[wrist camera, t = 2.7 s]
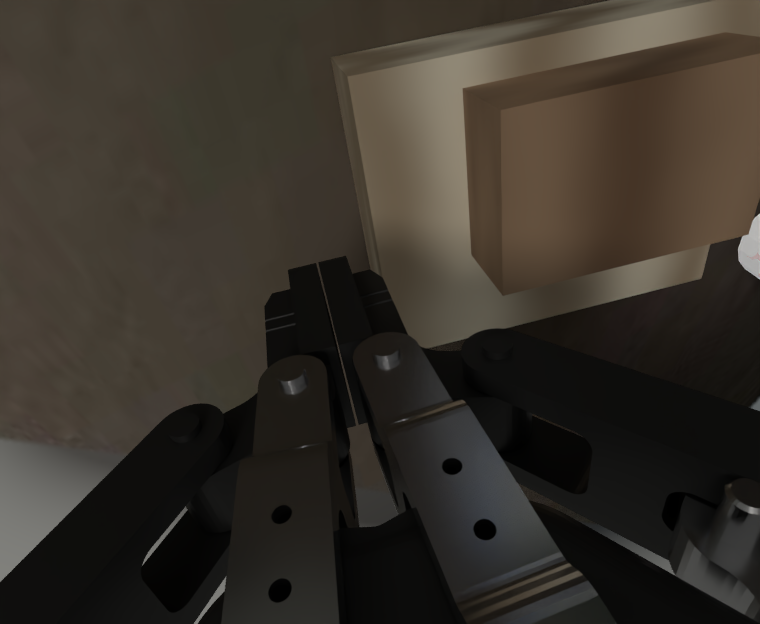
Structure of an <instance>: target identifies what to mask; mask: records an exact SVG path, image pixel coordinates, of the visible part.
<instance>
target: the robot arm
mask: <svg viewBox="0 0 760 624" xmlns="http://www.w3.org/2000/svg"><path fill="white" fill-rule="evenodd" d="M318 263H319V267H320V271H321V275H322V279H323V284H324V288H325V292H326V296H327V300H328V304H329V308H330V312H331V316H332V320H333V324H334V329H335V333H336V337H337V341H338V345H339V349H340V353H341V357H342V361H343V365H344V368H345V372H346V376H347V380H348V384H349V388H350V392H351V396H352V400H353V404H354V408H355V412H356V416H357V419H358V423H359V424H363V423H368V427H369V430H370V434H371V438H372V442H373V446H374V450H375V454H376V456H377V459H378V462H379V465H380V467H381V470H382V473H383V475H384V478H385V481H386V483H387V486H388V489H389V492H390V494H391V497H392V500H393V502H394V505H395V508H396V510H397V513H398V516H396V517H394V518H392V519H391V520H389V521H387V522H386V523H384V524H382V525H379V526H376V527H359V518H358V510H357V501H356V494H355V484H354V476H353V467H352V459H351V454H350V451H349V449H350V439H349V435H348V430H347V428H349V427H353V426H356V424H355V419H354V415H353V411H352V407H351V403H350V399H349V394H348V390H347V386H346V382H345V378H344V373H343V369H342V365H341V361H340V357H339V353H338V348H337V344H336V340H335V336H334V332H333V328H332V324H331V320H330V316H329V312H328V308H327V304H326V300H325V296H324V292H323V289H322V285H321V281H320V277H319V273H318V269H317V265H316V263H314V264H310V265H306V266H302V267H298V268H293V269H289V270H288V274H289V281H290V289H289V290H285V291H281V292H276V293H272V295H271V296H270V298H269V300H268V302H267V303H266V305H265V321H266V322H265V326H266V345H267V365H268V368H267V369H266V370H265V372H264V373H263V374H262V376H261V378H260V380H259V384H258V393H257V394H255V395H254V396H253V397H252V398H251V399H249V400H248V401H246V402H245V403H243V404H241V405H239V406H237V407H235V408H233V409H231V410H230V411H228V412H226V413H224V414H222V412H221V411H220V409H219V408H217V407H216V406H213V405H210V404H193V405H189V406H186V407H183V408H181V409H179V410H176V411H175V412H173V413H171V414H170V415H168V416H167V417H166V418H164V419H163V420H162V421H161V422H160V423H159V424H158V425H157V426H156V427H155V428H154V429H153V430H152V431H151V432H150V433H149V434H148V435H147V436H146V437H145V438H144V439H143V440H142V441H141V442H140V443H139V444H138V445H137V446H136V447H135V448H134V449H133V450H132V451H131V452H130V453H129V454H128V455H127V456H126V457H125V458H124V459H123V460H122V461H121V462H120V463H119V464H118V465H117V466H116V467H115V468H114V469H113V470H112V471H111V472H110V473H109V474H108V475H107V476H106V477H105V478H104V479H103V480H102V481H101V482H100V483H99V484H98V485H97V486H96V487H95V488H94V489H93V490H92V491H91V492H90V493H89V494H88V495H87V496H86V497H85V498H84V499H83V500H82V501H81V502H80V503H79V504H78V505H77V506H76V507H75V508H74V509H73V510H72V511H71V512H70V513H69V514H68V515H67V516H66V517H65V518H64V519H63V520H62V521H61V522H60V523H59V524H58V525H57V526H56V527H55V528H54V529H53V530H52V531H51V532H50V533H49V534H48V535H47V536H46V537H45V538H44V539H43V540H42V541H41V542H40V543H39V544H38V545H37V546H36V547H35V548H34V549H33V550H32V551H31V552H30V553H29V554H28V555H27V556H26V557H25V558H24V559H23V560H22V561H21V562H20V563H19V564H18V565H17V566H16V567H15V568H14V569H13V570H12V571H11V572H10V573H9V574H8V575H7V576H6V577H5V578H4V579H3V580H2V581H1V582H0V624H194V622H195V621H196V619H197V618H198V616H199V615H200V613H201V612H202V610H203V609H204V608H205V606H206V605H207V603H208V602H209V600H210V599H211V597H212V596H213V594H214V593H215V591H216V590H217V588H218V587H219V585H220V584H221V583H222V581H223V580H224V578H225V577H226V585H225V591H224V592H223V594H222V595H221V596H220V597H219V598H218V599H217V600H216V601H215V602H214V603H213V604H212V605H211V607H210V608H209V609H208V611H207V612H206V613H205V614H204V616H203V617H202V619H201V620H200V621H199V623H198V624H760V411H757V410H754V409H751V408H748V407H745V406H742V405H739V404H736V403H733V402H730V401H727V400H724V399H721V398H718V397H715V396H711V395H708V394H705V393H702V392H699V391H696V390H693V389H690V388H687V387H684V386H681V385H678V384H675V383H672V382H669V381H666V380H663V379H660V378H657V377H653V376H650V375H647V374H644V373H641V372H638V371H635V370H632V369H629V368H626V367H623V366H620V365H617V364H614V363H611V362H608V361H605V360H602V359H598V358H595V357H592V356H589V355H586V354H583V353H580V352H577V351H574V350H571V349H568V348H565V347H562V346H559V345H556V344H553V343H550V342H547V341H544V340H540V339H537V338H534V337H531V336H528V335H525V334H522V333H519V332H516V331H513V330H509V329H501V328H494V329H486V330H482V331H479V332H477V333H475V334H473V335H471V336H470V337H469V338H468V339H467V340H466V341H465V342H464V344H463V346H462V350H461V351H435V350H430V349H426V348H423V347H421V346H419V344H418V342H417V341H416V340H415V339H414V338H412V337H411V336H409V335H408V333H407V331H406V329H405V327H404V324H403V322H402V320H401V318H400V315H399V313H398V311H397V309H396V306H395V304H394V302H393V300H392V297H391V295H390V293H389V291H388V288H387V286H386V284H385V281H384V279H383V277H381V276H380V275H378V274H376V273H375V272H373V271H372V270H367V271H362V272H358V273H354V274H352V272H351V269H350V266H349V263H348V260H347V258H346V256H343V257H339V258H335V259H331V260H326V261H322V262H318ZM532 414H535V415H537V416H540V417H542V418H544V419H547V420H549V421H551V422H554V423H556V424H559V425H561V426H563V427H566V428H568V429H570V430H573V431H575V432H577V433H579V434H580V435H581V436H583V437H584V438H583V437H581V436H578V435H576V434H574V433H571V432H569V431H567V430H564V429H562V428H560V427H557V426H555V425H552V424H550V423H548V422H545V421H543V420H541V419H538V418H536V417H534V416H532ZM517 482H518V483H520V484H521V485H523V486H525V487H527V488H529V489H531V490H533V491H535V492H537V493H539V494H541V495H543V496H545V497H547V498H549V499H551V500H553V501H554V502H556V503H558V504H560V505H562V506H564V507H566V508H568V509H570V510H572V511H574V512H576V513H578V514H580V515H582V516H584V517H586V518H587V519H589V520H591V521H593V522H595V523H597V524H599V525H601V526H603V527H605V528H607V529H609V530H611V531H613V532H615V533H617V534H619V535H621V536H622V537H624V538H626V539H628V540H630V541H632V542H634V543H636V544H638V545H640V546H642V547H644V548H646V549H648V550H650V551H652V552H653V553H655V554H657V555H659V556H661V557H663V558H665V559H667V560H669V562H670V565H671V568H672V570H673V572H674V574H675V575H673V574H671V573H669V572H667V571H666V570H664V569H662V568H660V567H659V566H657V565H655V564H653V563H651V562H650V561H648V560H646V559H644V558H643V557H641V556H639V555H637V554H635V553H634V552H632V551H630V550H628V549H627V548H625V547H623V546H621V545H619V544H617V543H616V542H614V541H612V540H610V539H609V538H607V537H605V536H603V535H602V534H600V533H598V532H596V531H594V530H593V529H591V528H589V527H587V526H586V525H584V524H582V523H580V522H578V521H577V520H575V519H573V518H571V517H570V516H568V515H566V514H564V513H562V512H560V511H558V510H556V509H553V508H551V507H548V506H546V505H543V504H540V503H536V502H533V501H529V500H528V499H527V498H526V496H525V495H524V493H523V491H522V490H521V488H520V487H519V485H518V484H517ZM185 506H186V508H187V509H188V510H187V512H186V513H185V514H184V515H183V517H182V518H181V519H180V520H179V521H178V523H177V524H176V525H175V526H174V528H173V529H172V530H171V531H170V533H169V534H168V535H167V536H166V537H165V539H164V540H163V541H162V542H161V544H160V545H159V546H158V547H157V548H156V550H155V551H154V552H153V553H152V555H151V556H150V557H149V558H148V559H147V561H146V562H145V563H144V565H143V566H142V564H143V561H144V559H145V557H146V555H147V553H148V551H149V550H150V549H151V547H152V546H153V545H154V544H155V543H156V541H157V540H158V539H159V538H160V536H161V535H162V534H163V533H164V532H165V531H166V529H167V528H168V527H169V526H170V524H171V523H172V522H173V521H174V520H175V518H176V517H177V516H178V515H179V514H180V512H181V511H182V510H183V509H184V507H185Z"/></svg>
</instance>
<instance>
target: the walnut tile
mask: <svg viewBox="0 0 760 624" xmlns="http://www.w3.org/2000/svg"><path fill="white" fill-rule="evenodd" d="M463 107H464V126H465V145H466V164H467V183H468V202H469V221H470V240H471V255H472V256H473V258H474V259H475V260H476V262H477V263H478V264H479V266H480V267H481V268H482V269H483V271H484V272H485V273H486V275H487V276H488V277H489V279H490V280H491V281H492V283H493V284H494V285H495V286H496V288H497V289H498V290H499V292H500V293H501V294H502V296H505V295H509V294H513V293H517V292H521V291H525V290H529V289H533V288H537V287H541V286H545V285H549V284H553V283H557V282H561V281H565V280H569V279H573V278H577V277H581V276H585V275H589V274H593V273H597V272H601V271H605V270H609V269H613V268H617V267H621V266H625V265H629V264H633V263H637V262H641V261H645V260H649V259H653V258H657V257H661V256H665V255H669V254H673V253H677V252H681V251H685V250H689V249H693V248H697V247H701V246H705V245H709V244H713V243H717V242H721V241H725V240H729V239H733V238H737V237H741V236H745V235H748V234H749V231H750V228H751V225H752V221H753V218H754V215H755V211H756V208H757V205H758V201H759V198H760V37H757V36H750V35H742V34H735V33H728V32H724V33H719V34H715V35H710V36H705V37H700V38H696V39H691V40H686V41H682V42H677V43H672V44H668V45H663V46H658V47H654V48H649V49H644V50H640V51H635V52H630V53H625V54H621V55H616V56H611V57H607V58H602V59H597V60H593V61H588V62H583V63H579V64H574V65H569V66H565V67H560V68H555V69H550V70H546V71H541V72H536V73H532V74H527V75H522V76H518V77H513V78H508V79H504V80H499V81H494V82H490V83H485V84H480V85H476V86H471V87H466V88H463Z"/></svg>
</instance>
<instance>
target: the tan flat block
mask: <svg viewBox="0 0 760 624" xmlns="http://www.w3.org/2000/svg"><path fill="white" fill-rule="evenodd" d="M724 32H728V33H735V34H742V35H750V36H757V37H760V0H609V1H604V2H600V3H595V4H590V5H585V6H580V7H575V8H570V9H565V10H560V11H555V12H550V13H546V14H541V15H536V16H531V17H526V18H521V19H516V20H511V21H506V22H501V23H496V24H492V25H487V26H482V27H477V28H472V29H467V30H462V31H457V32H452V33H447V34H442V35H438V36H433V37H428V38H423V39H418V40H413V41H408V42H403V43H398V44H393V45H388V46H384V47H379V48H374V49H369V50H364V51H359V52H354V53H349V54H344V55H339V56H334V57H331V63H332V68H333V73H334V79H335V84H336V89H337V95H338V100H339V105H340V110H341V116H342V121H343V126H344V132H345V137H346V142H347V148H348V153H349V158H350V163H351V169H352V174H353V179H354V185H355V190H356V195H357V201H358V206H359V211H360V217H361V222H362V227H363V232H364V238H365V243H366V248H367V254H368V259H369V264H370V270H372V271H373V272H375V273H376V274H378V275H380V276H381V277H383V279H384V281H385V284H386V286H387V288H388V291H389V293H390V295H391V297H392V300H393V302H394V304H395V306H396V309H397V311H398V313H399V315H400V318H401V320H402V322H403V324H404V327H405V329H406V331H407V333H408V335H409V336H411V337H412V338H414V339H415V340H416V341H417V342H418V344H419V346H421V347H423V348H426V349H427V348H431V347H435V346H439V345H443V344H447V343H451V342H455V341H458V340H462V339H466V338H469V337H470V336H471V335H473V334H475V333H477V332H479V331H482V330H486V329H494V328H501V329H505V328H509V327H513V326H517V325H521V324H525V323H529V322H533V321H537V320H541V319H545V318H548V317H552V316H556V315H560V314H564V313H568V312H572V311H576V310H580V309H584V308H588V307H591V306H595V305H599V304H603V303H607V302H611V301H615V300H619V299H623V298H627V297H631V296H634V295H638V294H642V293H646V292H650V291H654V290H658V289H662V288H666V287H670V286H674V285H677V284H681V283H685V282H689V281H693V280H697V279H701V278H702V274H703V270H704V266H705V262H706V258H707V254H708V251H709V247H710V244H709V245H705V246H701V247H697V248H693V249H689V250H685V251H681V252H677V253H673V254H669V255H665V256H661V257H657V258H653V259H649V260H645V261H641V262H637V263H633V264H629V265H625V266H621V267H617V268H613V269H609V270H605V271H601V272H597V273H593V274H589V275H585V276H581V277H577V278H573V279H569V280H565V281H561V282H557V283H553V284H549V285H545V286H541V287H537V288H533V289H529V290H525V291H521V292H517V293H513V294H509V295H505V296H502V294H501V293H500V292H499V290H498V289H497V288H496V286H495V285H494V284H493V283H492V281H491V280H490V279H489V277H488V276H487V275H486V273H485V272H484V271H483V269H482V268H481V267H480V266H479V264H478V263H477V262H476V260H475V259H474V258H473V256H472V255H471V240H470V221H469V202H468V183H467V164H466V145H465V126H464V107H463V88H466V87H471V86H476V85H480V84H485V83H490V82H494V81H499V80H504V79H508V78H513V77H518V76H522V75H527V74H532V73H536V72H541V71H546V70H550V69H555V68H560V67H565V66H569V65H574V64H579V63H583V62H588V61H593V60H597V59H602V58H607V57H611V56H616V55H621V54H625V53H630V52H635V51H640V50H644V49H649V48H654V47H658V46H663V45H668V44H672V43H677V42H682V41H686V40H691V39H696V38H700V37H705V36H710V35H715V34H719V33H724Z"/></svg>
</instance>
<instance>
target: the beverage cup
mask: <svg viewBox="0 0 760 624" xmlns="http://www.w3.org/2000/svg"><path fill="white" fill-rule="evenodd" d="M738 255H739V262H740V263H741V264H742V266H743V267H744V268H745V269H746V270H747V271H749V272H750V273H751V274H753V275H754V276H756V277H757V278H758V279H760V214H759V215H758V216H757V217H755V219H754V220H753V221H752V225H751V228H750V231H749V234H748V235H745V236H743V237H742V240H741V242H740V245H739V248H738Z"/></svg>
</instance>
